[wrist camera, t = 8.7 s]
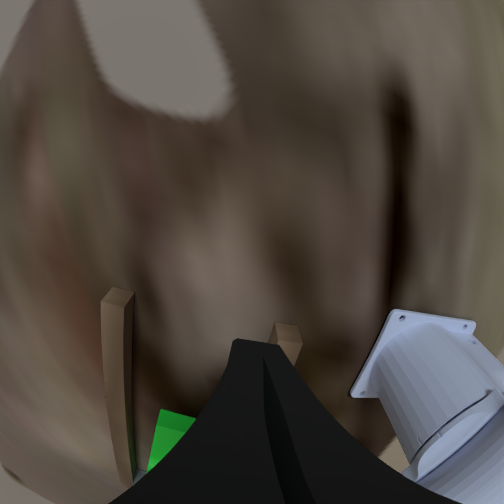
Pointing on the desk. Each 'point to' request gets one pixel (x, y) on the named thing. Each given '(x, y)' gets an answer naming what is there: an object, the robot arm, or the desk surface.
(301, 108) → the desk surface
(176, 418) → the mechanical part
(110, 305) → the guide track
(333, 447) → the robot arm
